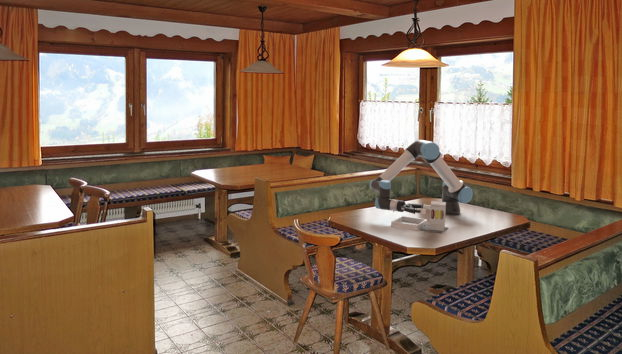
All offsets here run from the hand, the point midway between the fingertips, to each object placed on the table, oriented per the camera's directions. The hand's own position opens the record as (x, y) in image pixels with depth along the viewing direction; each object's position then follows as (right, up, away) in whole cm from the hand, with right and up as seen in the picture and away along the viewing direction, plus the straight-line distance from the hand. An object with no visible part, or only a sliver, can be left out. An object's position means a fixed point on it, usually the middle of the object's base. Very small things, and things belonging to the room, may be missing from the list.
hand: (429, 209), depth 339 cm
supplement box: (+4, -12, 0) cm, 13 cm away
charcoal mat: (+3, -12, +1) cm, 13 cm away
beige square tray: (-11, -10, +10) cm, 18 cm away
